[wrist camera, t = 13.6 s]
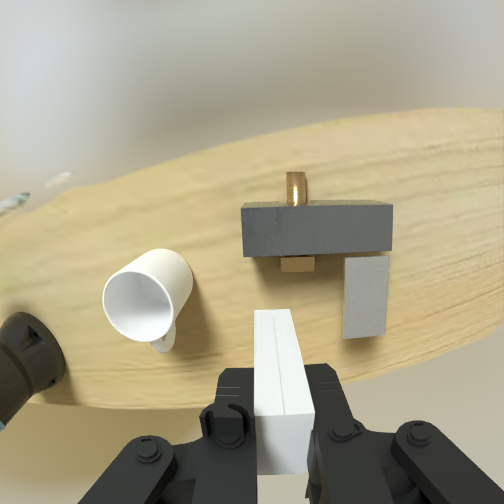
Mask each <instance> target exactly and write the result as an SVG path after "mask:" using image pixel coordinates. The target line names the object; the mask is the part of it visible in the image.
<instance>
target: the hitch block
mask: <svg viewBox="0 0 504 504" xmlns="http://www.w3.org/2000/svg"><path fill="white" fill-rule="evenodd" d="M241 221H242V239H243V256H244V257H259V256H283V255H307V254H331V253H354V252H377V251H392V228H393V205H392V204H388V203H383V202H379V201H374V200H314V201H310V203H286V204H279V203H278V202H255V203H244V205H243V206H242V207H241Z"/></svg>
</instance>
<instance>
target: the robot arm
mask: <svg viewBox="0 0 504 504" xmlns="http://www.w3.org/2000/svg"><path fill="white" fill-rule="evenodd" d="M64 371H65V363H64V358H63V355H62V352H61V349H60V347H59V345H58V343H57V341H56V340H55V338H54V337H53V335H52V334H51V332H50V331H49V330H48V329H47V328H46V326H45V325H44V324H43V323H41V322H40V321H39V320H38V319H37V318H35V317H34V316H32V315H30V314H27V313H24V312H18V313H15V314H13V315H12V316H10V317H9V318H7V319H6V320H5V322H4V323H3V325H2V326H1V328H0V431H2V430H3V429H5V426H6V425H7V423H9V421H10V420H11V419H12V418H13V417H14V415H15V414H16V413H17V412H18V411H19V410H20V409H21V408H22V406H23V405H24V404H25V403H26V402H27V401H28V400H29V399H30V397H31V396H32V395H34V394H36V393H39V392H41V391H43V390H46V389H48V388H51V387H53V386H54V385H56V384H57V382H58V381H59V380H60V379H61V378H62V377H63V375H64ZM199 418H200V423H201V428H202V433H203V437H201V438H200V439H198V440H196V441H194V442H190V443H186V444H179V445H171V444H170V443H169V442H168V441H167V440H165V439H163V438H161V437H158V436H151V435H149V436H140V437H138V438H135V439H133V440H132V441H131V442H129V443H128V444H127V445H126V446H125V447H124V448H123V450H122V451H121V452H120V453H119V454H118V456H117V457H116V458H115V459H114V461H113V462H112V463H111V464H110V466H109V467H108V468H107V469H106V470H105V471H104V473H103V474H102V475H101V476H100V477H99V479H98V480H97V481H96V482H95V484H94V485H93V486H92V487H91V488H90V490H89V491H88V492H87V493H86V494H85V495H84V497H83V498H82V499H81V500H80V501H79V502H78V504H257V475H276V474H277V475H278V474H294V473H306V470H307V466H308V472H309V480H308V485H307V489H306V495H305V498H309V500H310V504H504V491H503V490H502V489H501V488H500V487H499V486H498V485H497V484H496V483H495V482H494V481H493V480H491V479H490V478H489V477H488V476H487V475H486V474H485V473H484V472H483V471H482V470H481V469H480V468H479V467H478V466H477V465H476V464H475V463H474V462H473V461H471V460H470V459H469V458H468V457H467V456H466V455H465V454H464V453H463V452H462V451H461V450H460V449H459V448H458V447H457V446H456V445H455V444H454V443H453V442H452V441H450V440H449V439H448V438H447V437H446V436H445V435H444V434H443V433H442V432H441V431H440V430H439V429H438V428H437V427H435V426H434V425H432V424H431V423H428V422H425V421H410V422H406V423H404V424H403V425H402V426H400V427H399V429H398V430H397V432H396V433H384V432H383V433H382V432H374V431H370V430H367V429H366V428H365V427H364V426H363V424H362V423H361V422H359V421H357V420H356V419H354V418H353V416H352V413H351V410H350V408H349V405H348V403H347V400H346V397H345V394H344V392H343V390H342V387H341V384H340V382H339V379H338V376H337V374H336V371H335V370H334V369H333V368H331V367H330V366H329V365H328V364H327V363H324V364H311V365H303V361H302V357H301V353H300V349H299V345H298V341H297V337H296V333H295V329H294V325H293V321H292V317H291V313H290V309H276V310H255V321H254V368H226V369H225V370H224V371H223V372H222V373H221V375H220V376H219V379H218V384H217V390H216V396H215V402H214V403H213V404H210V405H209V406H207V407H206V408H205V409H203V410H202V412H201V414H200V416H199Z"/></svg>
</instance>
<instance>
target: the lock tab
mask: <svg viewBox="0 0 504 504" xmlns="http://www.w3.org/2000/svg"><path fill="white" fill-rule="evenodd" d="M388 268H389V256H387V255H381V256H360V257H344V288H343V325H342V338H343V339H351V338H361V337H370V336H379V335H385V326H386V313H387V296H388Z"/></svg>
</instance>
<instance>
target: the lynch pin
mask: <svg viewBox="0 0 504 504" xmlns="http://www.w3.org/2000/svg"><path fill="white" fill-rule="evenodd" d="M286 174H287V203H306V190H305V172H286ZM280 268H281V272H312V271H315V256H314V255H313V254H307V255H283V256H280Z"/></svg>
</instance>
